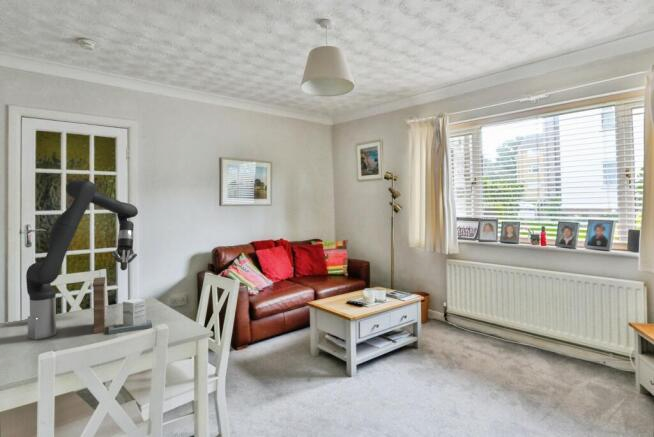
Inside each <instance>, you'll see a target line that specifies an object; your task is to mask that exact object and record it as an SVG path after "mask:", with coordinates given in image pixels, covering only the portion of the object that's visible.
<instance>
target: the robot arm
mask: <svg viewBox="0 0 654 437" xmlns="http://www.w3.org/2000/svg"><path fill="white" fill-rule="evenodd" d="M65 190H66V191H65V192H66V194H67V195H68V196H69V197H71V198H73V201H72V203H71V204H70V206H69V207H68V208H67V209H66V210H65V211H63V212H62V213H61V214H60V215H58V217H57V218H56V219H55V221H54V222H53V225H52V227H51V229H50V231H49V233H48V249H47V253H46V255H45V257H44V259H43V261H41V262H40V261H39V262H38V261H37V262H35V263H32V264H31V265H30V266H28V268H27V270H26V275H25V276H26V277H25V279H26V280H25V282H26V292H27V294H28V296H29V316H27V338H28V339H31V340H40V339H42V340H43V339H47V338H50V337H53V336H55V335H56V334H57V310H56V309H57V306H56V305H57V299H56V294H57V293H56V290H55V289H54V288H53V287H52V285H51V284H52V283H53V282H55V281H56V280H57V278H58V277H59V275H60V272H61V269H62V266H63V263H64V259H65V258H66V255H67V252H68V250H69V247H70V245H71V243H72V240H73V239H74V236H75V235H76V232H77V229H78V227H79V225H80V222H81V220H82V219H83V217H84V215H85V212H86V210H87V209H88V207H89V206H90V204H93V205H96V206H98V207H100V208H103V209H105V210H106V211H108V212H111V213H114V214H116V216H117V220H118V225H119V226H118V235H117V248H116V250H115V251H113V252H112V253H111V255H112V257H113V258H114V260H115V261H116V262H117V263H120V268H119V269H121V271H126V270H127V268H128V264H129V263H131V262H133V260H134V259H136V257H138V254H137V253H135V252H134V248H133V247H134V222H133V221H130V220H128V219H130V218H131V219H132V218H135V217H136V216H137V215H138V214H139V210H138V208H137V207H136V206H135V205H133V204H131V203H127V202H123V201H120V200H119V199H116V198H114V197H112V196H109V195H106V194H103V193H100V192H97V187H96V185H95V183H94V182H92V181H90V180H82V179H81V180H79V179H74V180H70V181H69V182H68V183H67V184H66V187H65Z"/></svg>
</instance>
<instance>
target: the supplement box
mask: <svg viewBox="0 0 654 437" xmlns="http://www.w3.org/2000/svg"><path fill="white" fill-rule="evenodd" d="M146 302H147V301H146V299H143V298H142V299H141V298H137V297H134V298H131V299H128V300H127V299H126V300H123V301H122V327H126V326H133V325H140V324H147V320H146V319H147V318H146V316H147V315H146V312H147V311H146Z"/></svg>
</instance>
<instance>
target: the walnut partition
mask: <svg viewBox="0 0 654 437" xmlns="http://www.w3.org/2000/svg"><path fill="white" fill-rule="evenodd" d="M91 286H92V289H93V292H92V293H93V298H92V299H93V334H94V335H96V334H103V333H105V330H106V329H105V328H106V290H105V288H106V287H105V286H106V276H103V277H99V276H98V277H94V278H93V282H92V284H91Z"/></svg>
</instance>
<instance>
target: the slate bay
mask: <svg viewBox="0 0 654 437" xmlns="http://www.w3.org/2000/svg"><path fill="white" fill-rule="evenodd" d="M148 328H149V329H152V328H153V321H152V320H151V319H149V320H146V324H140V325H133V326H126V327H123V326H120V327H115V324H111V325H108V335H114V334H122V333H128V332H134V331H135V332H136V331H141V330H142V331H143V330H149V329H148Z"/></svg>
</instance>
